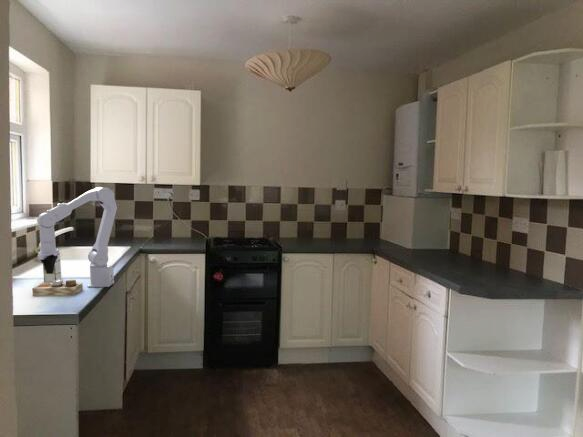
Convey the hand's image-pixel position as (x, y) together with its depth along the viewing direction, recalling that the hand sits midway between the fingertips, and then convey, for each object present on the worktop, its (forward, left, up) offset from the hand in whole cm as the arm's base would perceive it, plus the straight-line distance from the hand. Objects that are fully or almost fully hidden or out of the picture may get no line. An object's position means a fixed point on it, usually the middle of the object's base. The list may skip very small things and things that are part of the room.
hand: (49, 273), depth 206 cm
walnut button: (-9, 0, -6) cm, 10 cm away
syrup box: (+6, -15, -9) cm, 18 cm away
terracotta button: (+2, 0, -7) cm, 7 cm away
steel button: (-3, 0, -6) cm, 6 cm away
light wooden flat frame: (-3, 0, -8) cm, 9 cm away
